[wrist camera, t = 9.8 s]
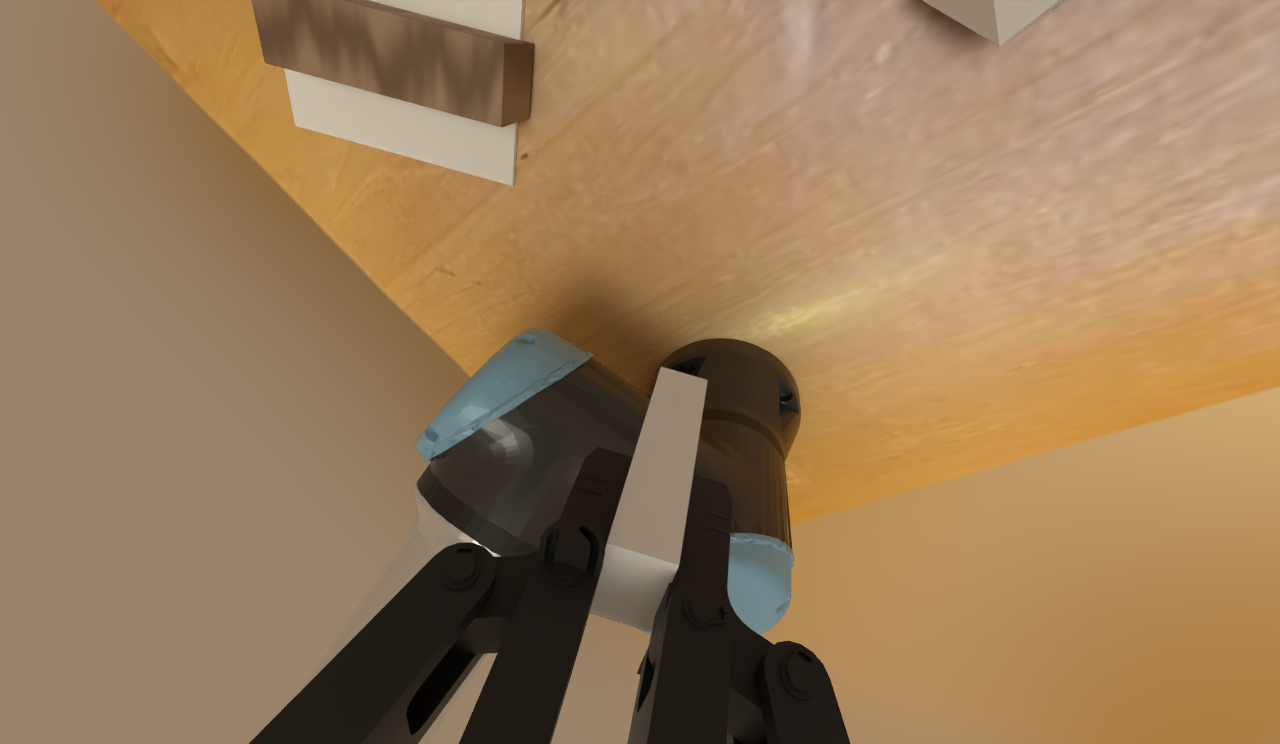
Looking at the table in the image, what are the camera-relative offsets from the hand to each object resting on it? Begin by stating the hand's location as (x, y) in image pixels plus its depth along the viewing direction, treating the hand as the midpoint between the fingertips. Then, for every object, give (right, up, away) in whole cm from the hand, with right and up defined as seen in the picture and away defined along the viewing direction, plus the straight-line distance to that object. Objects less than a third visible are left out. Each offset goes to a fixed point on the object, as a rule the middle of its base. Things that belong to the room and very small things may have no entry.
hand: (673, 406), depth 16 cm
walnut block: (-10, +22, +19) cm, 31 cm away
